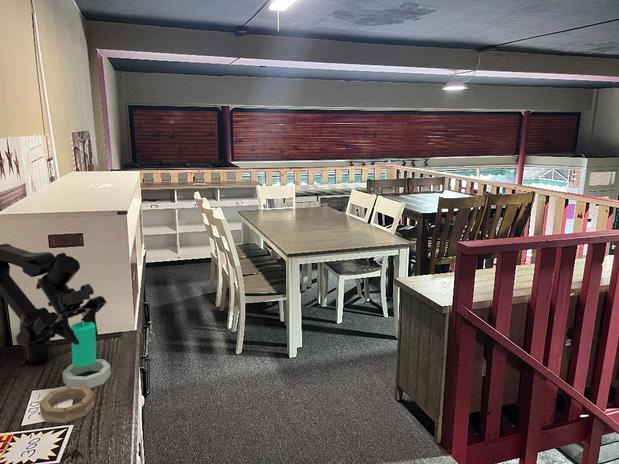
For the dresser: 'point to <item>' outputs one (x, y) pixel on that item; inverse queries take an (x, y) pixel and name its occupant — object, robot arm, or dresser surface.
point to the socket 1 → (90, 380)
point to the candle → (84, 344)
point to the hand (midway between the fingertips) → (87, 339)
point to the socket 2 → (67, 413)
